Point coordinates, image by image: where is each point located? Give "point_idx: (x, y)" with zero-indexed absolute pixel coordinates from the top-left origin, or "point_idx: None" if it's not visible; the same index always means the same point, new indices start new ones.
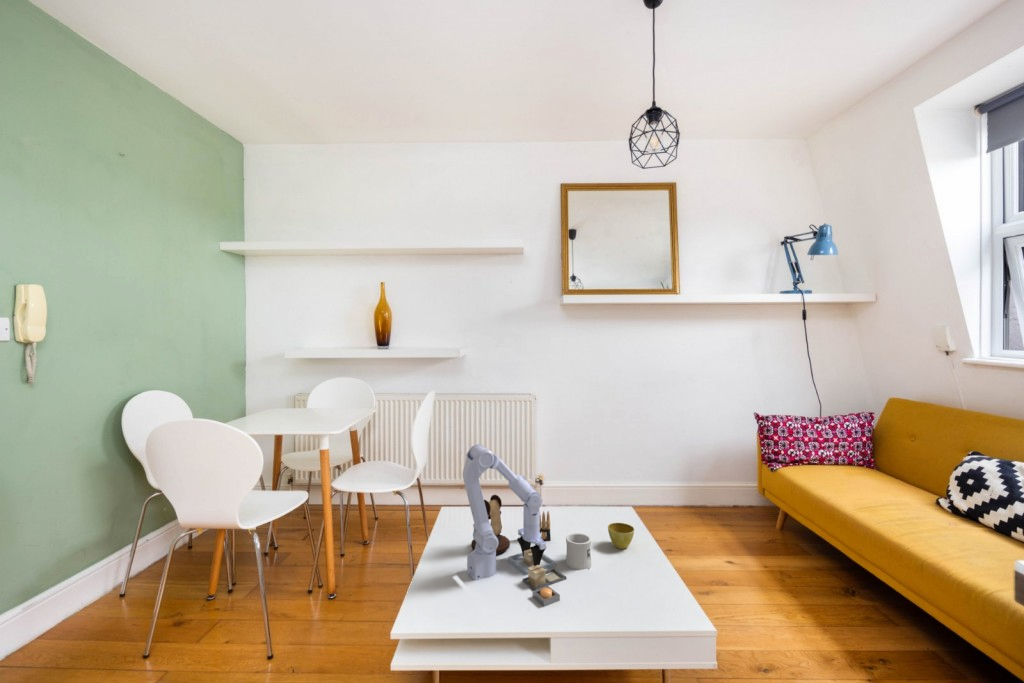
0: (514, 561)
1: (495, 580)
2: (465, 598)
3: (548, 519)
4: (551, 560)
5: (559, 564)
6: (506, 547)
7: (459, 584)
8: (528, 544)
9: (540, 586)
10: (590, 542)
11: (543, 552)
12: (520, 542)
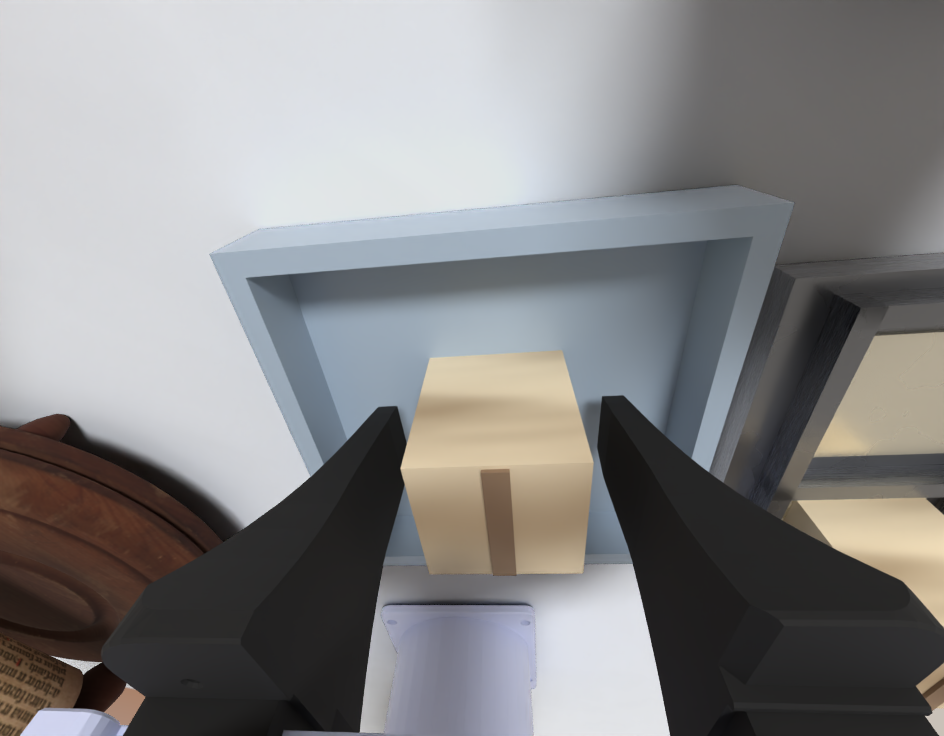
0: None
1: (547, 626)
2: (605, 716)
3: None
4: (696, 238)
5: (696, 42)
6: (159, 523)
7: None
8: (341, 554)
9: None
10: None
11: (774, 521)
12: (359, 712)
